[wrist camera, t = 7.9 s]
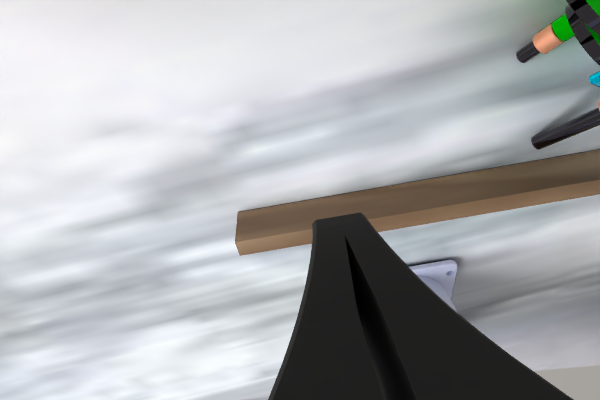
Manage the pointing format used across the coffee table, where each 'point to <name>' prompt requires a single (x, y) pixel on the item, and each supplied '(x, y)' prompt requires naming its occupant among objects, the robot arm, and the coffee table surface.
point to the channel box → (425, 200)
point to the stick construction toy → (577, 21)
